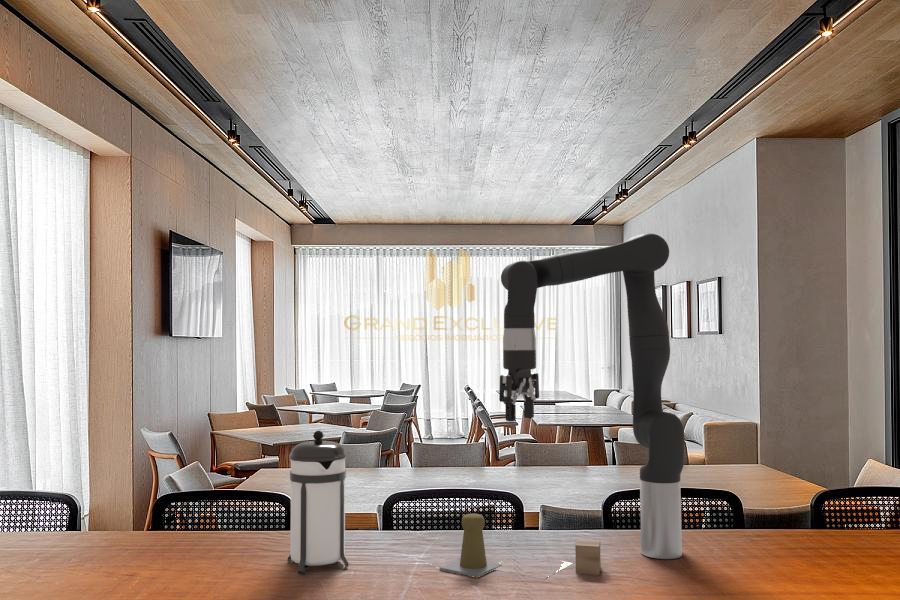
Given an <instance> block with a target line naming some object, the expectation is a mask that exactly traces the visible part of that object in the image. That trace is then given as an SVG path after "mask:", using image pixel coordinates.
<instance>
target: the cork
mask: <svg viewBox="0 0 900 600" xmlns="http://www.w3.org/2000/svg"><path fill="white" fill-rule="evenodd" d="M485 522H486V521H485V518H484V516H483V515H482V514H479V513H466V514H464V515H463V516H462V518H461V527H462V529H463V534H462V535H463V536H462V544H461V550H460V551H461V552H460V553H461V554H460V558H461V559H460V558H459V559H460V566H461V567H463V568H468V569H479V568H484V567H486V566H487V562H486V561H487V556H486V549H485V541H484V531H483V530H484V528H485V524H486V523H485Z"/></svg>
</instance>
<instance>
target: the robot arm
mask: <svg viewBox="0 0 900 600" xmlns="http://www.w3.org/2000/svg"><path fill="white" fill-rule="evenodd" d="M669 257H670V248H669V245H668V243H667V241H666V240H665V239H664V237H662V236H661V235H658V234H656V233H649V232H648V233H641V234H637V235H634V236H631V237H630V238H628V239H627V240H625V241H624V242H621V243H618V244H614V245H610V246H608V245H607V246H604V247H598V248H597V247H596V248H592V249H591V248H590V249H585V250H582V249H581V250H575V251H569V252H563V253H558V254H552V255H549V256H546V257H543V258H540V259H533V260H528V261H527V260H517V261H515V262H512V263H509V264H508V265H506V266H505V267H504V269H502V272H501V274H500V283H501V285H502V286H503V288H505V289H506V290H507V301H506V302H507V303H506V304H505V306H504V311H503V335H502V358H503V359H502V364H503V365H502V367H503V369H504V370H507V374H500V375H499V394H498V395H499V397H498V398H499V399H498V400H499V402H501V403H503V404H504V406H505V421H506V422H515V421H516V419H517V417H516V415H517V413H516V412H517V411H516V401H517V399H518V398H519V397H520V396H521V395H522V397H523V398H522V399H523V400H524V402H523V416H524V419H533V418H534V417H535V406H534V405H535V403H534V402H536V400H537V399H539V397H540V387H539V386H540V384H539V383H540V379H539V373H538V372H532V370H535V369H536V368H537V338H536V330H535V322H536V321H535V306H536V300H537V291H538V289H539V288H543V287H550V286H560V285H566V284H570V283H574V282H579V281H580V282H581V281H585V280H588V279H591V278H596V277H599V276H604V275H609V274H613V273H618V272H622V274H623V280H624V281H623V282H624V286H625V293H626V302H627V303H626V305H627V319H628V322H627V323H628V336H629V338H628V339H629V350H630V359H631V360H630V361H631V374H632V389H633V392H632V394H633V396H632V397H633V399H632V400H633V407H632V430H633V436H634V438H635V440H636V441H637V443H638V444H639V445H640V446H642V447H643V448H645V449H648V461H647V462H646V464H644V465H641V466H640V469H639V492H640V493H639V498H640V500H639V502H640V508H639V509H640V553H641V555H643V556H645V557H649V558H653V559H659V560H673V559H678V558H681V557H682V556H683V546H682V545H683V544H682V543H683V542H682V536H683V535H682V497H681V495H682V494H681V474H682V471H683V468H684V463H685V429H684V424H683V422H682V420H681V419H680V417H678V416H677V415H676V414H674V413H671V412H667V411H664V409H663V403H662V401H663V399H662V385H663V380H664V378H665V374H666V371H667V369H668V366H669V362H670V357H671V343H670V332H669V326H668V323H667V322H668V321H667V319H666V317H665V313H664V312H663V309H662V307H661V305H660V302H659V299H658V296H657V293H656V286H655V285H656V282H655V281H656V279H655V271H656V272H657V271H658V270H660V269H662V268H663V267H664V266H665V264H666V263H667V262H668V260H669Z"/></svg>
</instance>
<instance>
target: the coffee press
mask: <svg viewBox="0 0 900 600" xmlns="http://www.w3.org/2000/svg"><path fill="white" fill-rule="evenodd" d="M312 437H313V438H314V440H313V441H304V442H300V443H298V444H296V445H294V446H293V448H292V450H291V452H290V453H289V455H288V458H289V461H290V471H289V481H290V537H289V539H290V550H289V551H290V553H289V556H288V557H287V563H288V564H290V563H291V564H294V563H296V564H298V567H297V572H296V573H297V574H298V575H301V576H302V575H306V573H307V571H308V569H309V567H311V566H312V567H313V566H315V567H316V566H326V565H331V564H335V565H337V566H338V567H339V568H340V569H341V570H345V569H347V568H348V567H349V564H350V563H349V561H348V560H347V559H346V557H345V551H346V549H345V546H346V536H345V535H346V533H345V532H346V526H345V525H346V497H345V496H346V478H347V469H346V459H347V457H348V453H347V451H345V448H344V446H343V445H341V443H338V442H337V441H336V442H335V441H332V440H331V441H330V440H329V441H328V440H323V438H324V437H325V435H324V433H323V432H322V431H321V430H315V431H314V433H313V435H312ZM340 560H341V561H342V562H343V563H344V565H343V563H341V561H340Z"/></svg>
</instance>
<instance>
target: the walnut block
mask: <svg viewBox="0 0 900 600" xmlns="http://www.w3.org/2000/svg"><path fill="white" fill-rule="evenodd" d="M574 545H575V549H574V550H575V552H574V553H575V574H581V575H582V574H583V575H599V576H600V573H601V540H594V539H593V540H592V539H582V538H581V539H577V540H576V543H575V544H574Z"/></svg>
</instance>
